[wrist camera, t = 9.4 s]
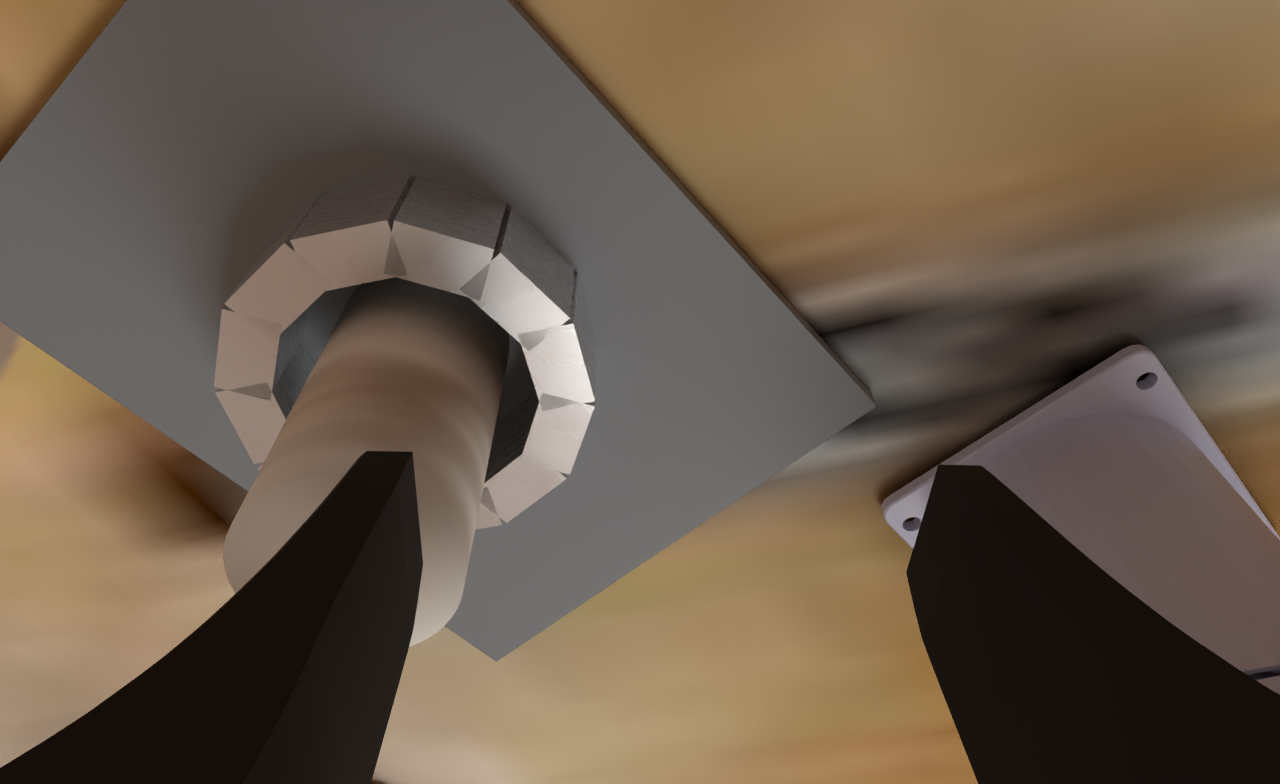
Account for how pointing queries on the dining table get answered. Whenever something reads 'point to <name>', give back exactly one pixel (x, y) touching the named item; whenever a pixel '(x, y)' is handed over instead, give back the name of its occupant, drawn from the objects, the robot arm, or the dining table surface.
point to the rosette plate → (274, 197)
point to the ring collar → (433, 256)
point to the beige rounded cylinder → (388, 431)
